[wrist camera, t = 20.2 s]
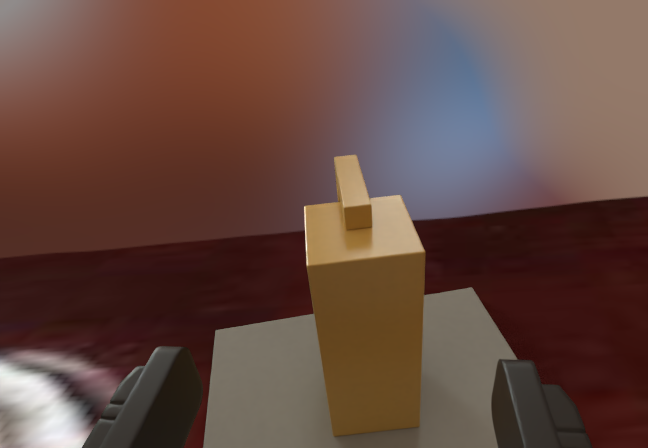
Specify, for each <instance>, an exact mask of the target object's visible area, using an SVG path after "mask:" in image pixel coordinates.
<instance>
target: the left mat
mask: <svg viewBox="0 0 648 448" xmlns="http://www.w3.org/2000/svg"><path fill="white" fill-rule="evenodd" d="M499 359H511V360H518V359H517V358H516V356H515V355H514V353H513V352H512V350H511V348H510V347H509V345H508V344H507V342H506V340H505V339H504V337H503V336H502V334H501V333H500V331H499V329H498V328H497V326H496V325H495V323H494V322H493V320H492V318H491V317H490V315H489V314H488V312H487V310H486V309H485V307H484V306H483V304H482V303H481V301H480V299H479V298H478V296H477V295H476V293H475V292H474V290H473V288H467V289H461V290H455V291H449V292H443V293H437V294H431V295H425V296H424V310H423V342H422V373H421V405H420V426H419V427H413V428H404V429H396V430H387V431H378V432H370V433H361V434H353V435H344V436H335V437H334V436H333V433H332V426H331V420H330V413H329V407H328V401H327V394H326V388H325V381H324V375H323V368H322V362H321V355H320V349H319V342H318V336H317V329H316V323H315V316H314V314H311V315H305V316H299V317H293V318H287V319H281V320H275V321H269V322H263V323H257V324H251V325H245V326H239V327H233V328H227V329H221V330H216V332H215V342H214V351H213V361H212V370H211V380H210V389H209V399H208V408H207V418H206V427H205V437H204V446H203V448H498V445H497V440H496V435H495V431H494V426H493V420H492V411H491V398H492V391H493V386H494V380H495V374H496V368H497V363H498V360H499Z"/></svg>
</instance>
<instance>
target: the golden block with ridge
mask: <svg viewBox="0 0 648 448" xmlns="http://www.w3.org/2000/svg"><path fill="white" fill-rule="evenodd" d="M334 163H335V173H336V184H337V194H338V202H335V203H327V204H318V205H310V206H305V207H304V216H305V239H306V261H307V271H308V278H309V284H310V290H311V297H312V303H313V310H314V316H315V323H316V329H317V336H318V342H319V349H320V355H321V362H322V368H323V375H324V381H325V388H326V394H327V401H328V407H329V413H330V420H331V426H332V433H333V436H334V437H335V436H344V435H353V434H361V433H370V432H378V431H387V430H396V429H404V428H413V427H419V426H420V405H421V373H422V342H423V310H424V279H425V250H424V248H423V246H422V243H421V241H420V239H419V236H418V234H417V232H416V229H415V227H414V225H413V222H412V220H411V218H410V215H409V213H408V211H407V209H406V206H405V204H404V202H403V199H402V197H401V195H395V196H386V197H378V198H369V195H368V192H367V188H366V185H365V182H364V178H363V175H362V172H361V168H360V165H359V162H358V159H357V156H356V155H350V156H341V157H335V158H334Z"/></svg>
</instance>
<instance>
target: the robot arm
mask: <svg viewBox="0 0 648 448" xmlns="http://www.w3.org/2000/svg"><path fill="white" fill-rule="evenodd" d="M202 395H203V385H202V381H201V378H200V376H199V373H198V371H197V368H196V366H195V363H194V360H193V358H192V355H191V353H190V350H189V349H188V348H187V347H165V346H160V347H158V348H156V349H155V351H154V352H153V354H152V355H151V357H150V359H149V361H148V362H147V364H146V366H138V367H136V368H135V369H134V370H133V371H132V372H131V373H130V374H129V375H128V376H127V377H126V378H125V379H124V380H123V381H122V382H121V383H120V385H119V387H118V388H117V390H116V392H115V393H114V395H113V397H112V398H111V400H110V404H108V405H107V407H106V408H105V410H104V412H103V413H102V415H101V419H100V420H98V422H97V423H96V425H95V427H94V428H93V430H92V432H91V433H90V435H89V437H88V438H87V440H86V442H85V443H84V445H83V447H82V448H183V447H184V444H185V442H186V439H187V437H188V434H189V432H190V429H191V427H192V424H193V422H194V419H195V417H196V415H197V412H198V410H199V407H200V404H201V401H202ZM491 411H492V420H493V426H494V431H495V435H496V440H497V445H498V448H592V445H591V442H590V440H589V437H588V435H587V434H586V432H585V427H584V424H583V422H582V419H581V417H580V414H579V412H578V409H577V406H576V405H575V404H574V402H573V401H572V400H571V399H570V398H569V397H568V395H567V394H566V393H565V392H564V391H563V390H562V388H561V387H560V386H559V385H544V384H541V381H540V378H539V375H538V372H537V369H536V366H535V364H534V362H533V361H532V360H511V359H499V360H498V363H497V368H496V374H495V380H494V386H493V391H492V398H491Z"/></svg>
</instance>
